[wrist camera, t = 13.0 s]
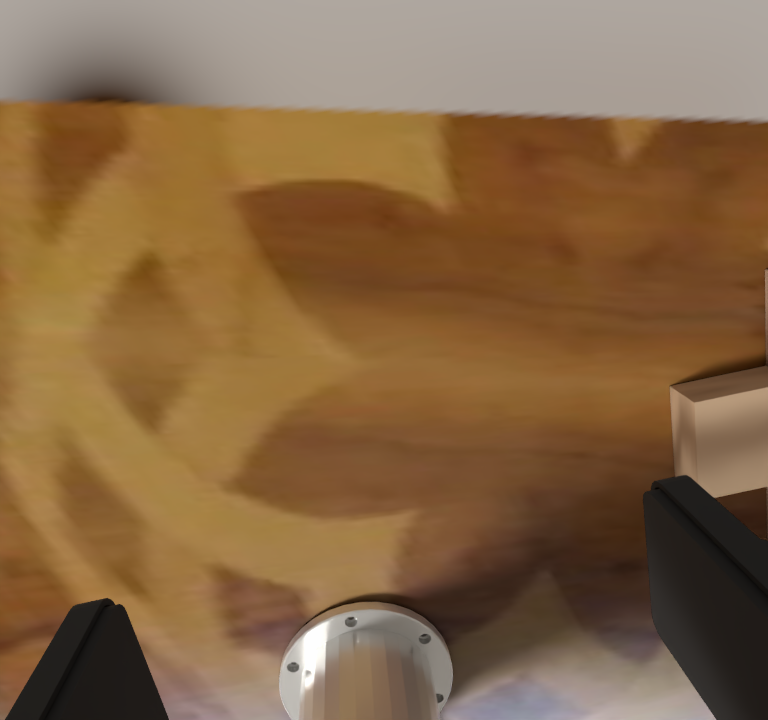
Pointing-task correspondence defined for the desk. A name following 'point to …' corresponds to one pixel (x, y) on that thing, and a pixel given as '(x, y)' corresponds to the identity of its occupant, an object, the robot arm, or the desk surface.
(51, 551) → the desk surface
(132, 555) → the desk surface
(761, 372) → the cross stand
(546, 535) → the desk surface
